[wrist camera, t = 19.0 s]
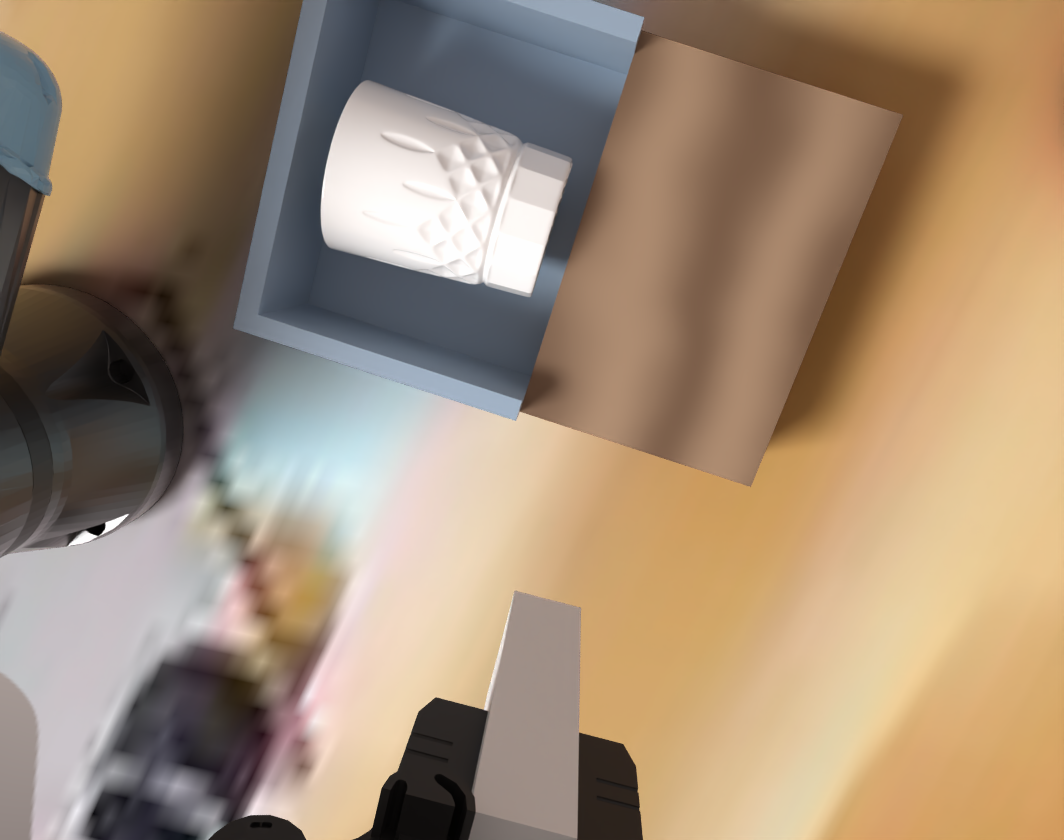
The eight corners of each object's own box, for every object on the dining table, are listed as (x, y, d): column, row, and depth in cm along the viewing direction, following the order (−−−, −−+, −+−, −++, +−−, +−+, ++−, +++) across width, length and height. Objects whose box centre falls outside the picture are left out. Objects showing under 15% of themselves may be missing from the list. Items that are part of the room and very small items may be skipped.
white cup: (576, 155, 39) (389, 95, 39) (580, 136, 31) (348, 62, 31) (532, 301, 41) (353, 246, 41) (525, 318, 33) (306, 250, 33)
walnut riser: (528, 391, 42) (519, 411, 37) (635, 57, 38) (641, 30, 33) (732, 458, 42) (750, 486, 37) (863, 131, 38) (903, 114, 33)
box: (290, 314, 42) (233, 328, 36) (370, -28, 38) (321, -87, 31) (528, 391, 42) (515, 420, 36) (635, 57, 38) (644, 17, 31)
